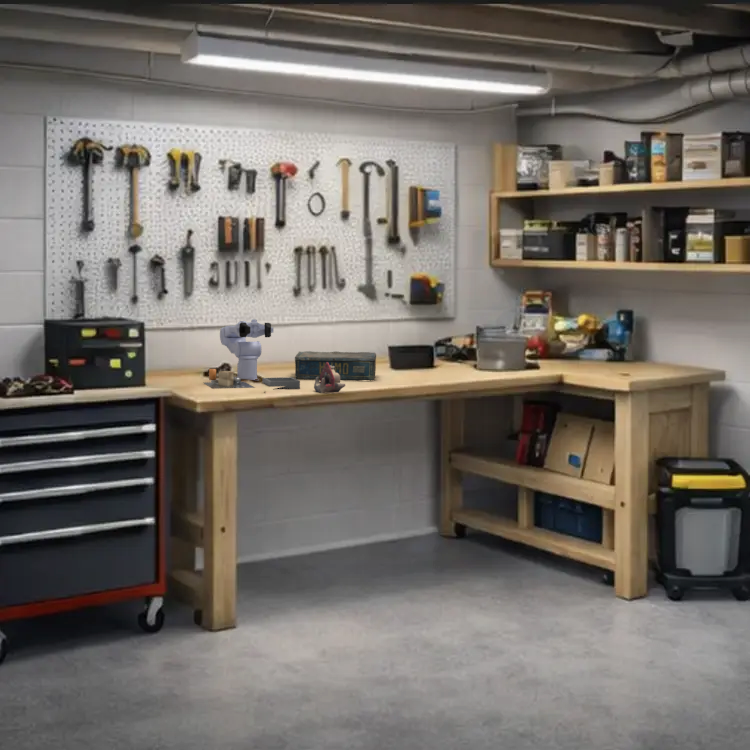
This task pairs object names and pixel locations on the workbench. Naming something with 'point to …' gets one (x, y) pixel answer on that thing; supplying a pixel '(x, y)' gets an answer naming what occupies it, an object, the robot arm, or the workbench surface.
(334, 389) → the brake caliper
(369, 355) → the metal box
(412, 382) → the workbench surface
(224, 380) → the block
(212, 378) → the crank
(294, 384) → the tray
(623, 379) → the workbench surface
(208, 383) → the crank base
